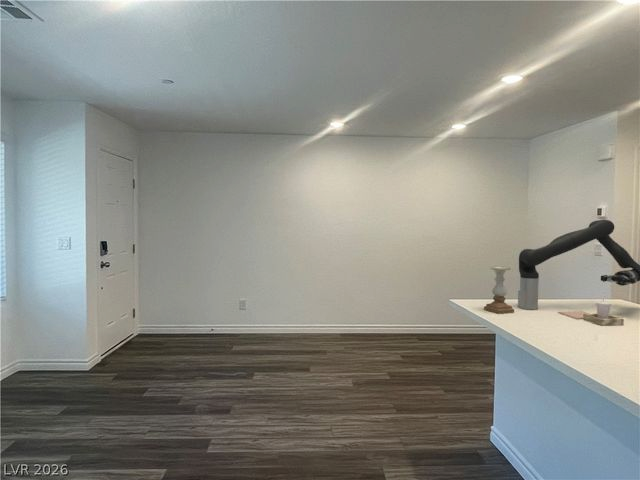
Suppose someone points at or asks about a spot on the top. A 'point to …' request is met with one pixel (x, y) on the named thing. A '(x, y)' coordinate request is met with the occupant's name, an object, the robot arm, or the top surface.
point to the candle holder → (499, 293)
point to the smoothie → (603, 309)
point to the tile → (574, 314)
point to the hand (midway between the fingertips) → (612, 280)
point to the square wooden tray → (603, 320)
